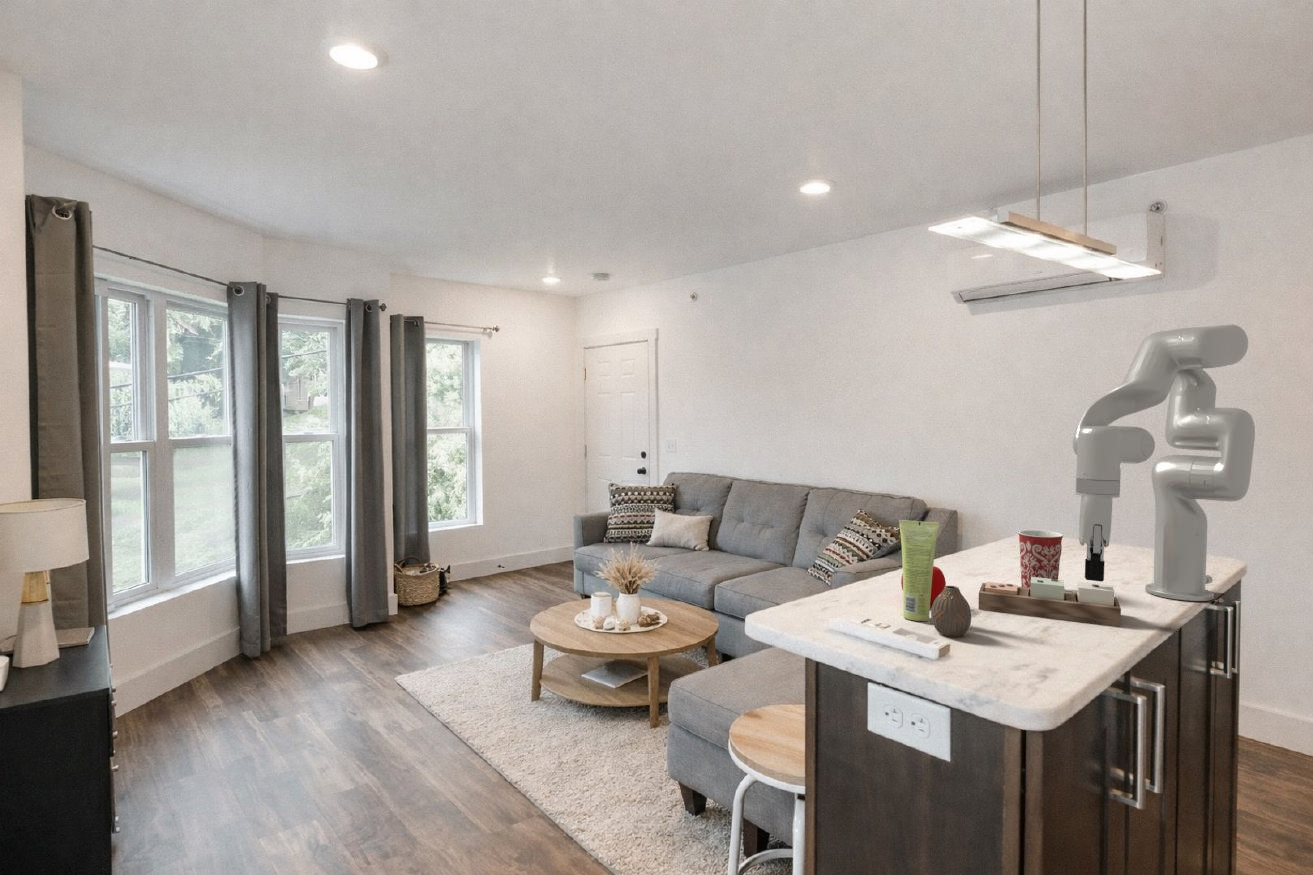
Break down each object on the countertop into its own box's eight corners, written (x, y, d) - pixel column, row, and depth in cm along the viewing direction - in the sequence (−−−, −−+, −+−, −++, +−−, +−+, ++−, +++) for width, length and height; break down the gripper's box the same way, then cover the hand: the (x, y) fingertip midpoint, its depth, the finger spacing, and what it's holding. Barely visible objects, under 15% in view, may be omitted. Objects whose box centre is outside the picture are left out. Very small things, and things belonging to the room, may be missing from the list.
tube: (920, 613, 147) (921, 518, 146) (937, 620, 142) (939, 522, 141) (897, 616, 145) (898, 519, 144) (914, 623, 140) (916, 523, 140)
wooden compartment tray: (1116, 613, 147) (1116, 596, 147) (1120, 626, 138) (1120, 608, 138) (982, 598, 159) (982, 582, 159) (978, 609, 150) (978, 592, 150)
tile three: (1017, 598, 154) (1017, 583, 154) (1016, 605, 149) (1016, 589, 149) (986, 595, 157) (987, 580, 157) (984, 601, 152) (984, 586, 151)
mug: (1047, 598, 159) (1048, 537, 159) (1008, 589, 167) (1010, 531, 167) (1078, 591, 166) (1080, 533, 165) (1040, 583, 174) (1041, 527, 173)
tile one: (1111, 599, 146) (1111, 583, 146) (1113, 606, 140) (1114, 590, 140) (1077, 595, 149) (1077, 580, 148) (1078, 602, 143) (1078, 586, 143)
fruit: (955, 606, 153) (956, 559, 153) (923, 611, 149) (924, 563, 149) (921, 595, 161) (922, 551, 161) (891, 600, 157) (891, 555, 157)
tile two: (1063, 594, 150) (1063, 578, 150) (1063, 600, 145) (1064, 584, 144) (1030, 590, 153) (1031, 575, 153) (1030, 597, 147) (1030, 581, 147)
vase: (924, 628, 137) (925, 582, 136) (959, 627, 137) (960, 582, 137) (941, 640, 130) (942, 592, 130) (978, 639, 130) (979, 591, 130)
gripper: (1074, 484, 152) (1071, 571, 152) (1077, 490, 139) (1073, 584, 139) (1116, 487, 148) (1113, 575, 149) (1123, 492, 135) (1119, 589, 136)
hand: (1094, 579), depth 144 cm, fingers closed
